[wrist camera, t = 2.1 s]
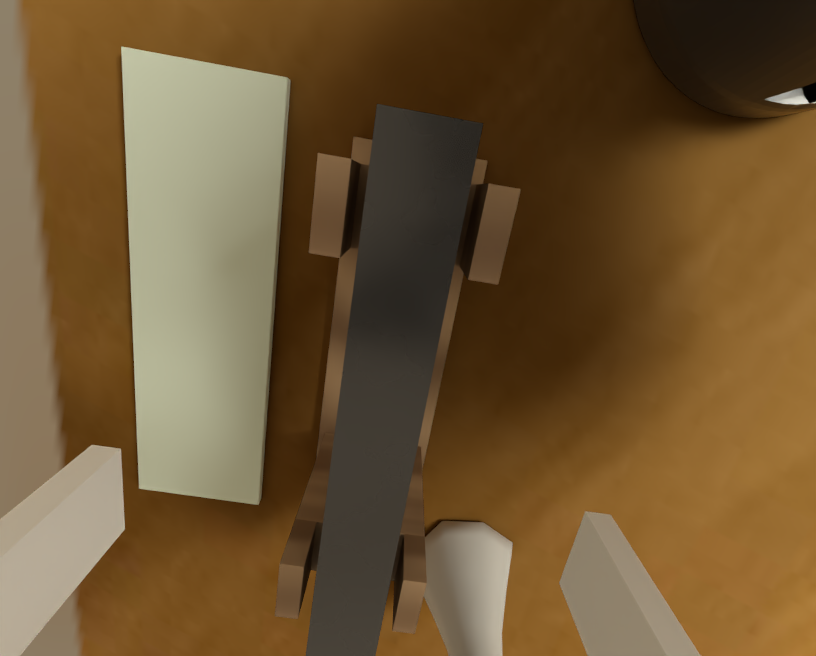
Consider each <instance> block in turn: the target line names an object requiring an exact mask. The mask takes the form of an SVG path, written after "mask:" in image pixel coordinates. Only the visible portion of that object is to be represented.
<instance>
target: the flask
mask: <svg viewBox="0 0 816 656" xmlns="http://www.w3.org/2000/svg"><path fill="white" fill-rule="evenodd" d="M512 544H513V543H512V542H511V541H509V540H508V539H506V538H505V537H504V536H502V535H501V534H499V533H498V532H496V531H495V530H493V529H492V528H491V527H489V526H488V525H486V524H485V523H483V522H461V521H442V522H441V523H439V524H438V525H437V526H436V527H435V528H434V529H433V530H432V531H431V532H430V533H429V534H428V535H427V536H426V537H425V552H426V575H427V585H426V589H425V593H424V598H425V600H426V602H427V604H428V606H429V608H430V611H431V613H432V615H433V617H434V620H435V622H436V624H437V627H438V629H439V632H440V634H441V636H442V639H443V641H444V643H445V646H446V648H447V651H448V655H449V656H502V626H503V617H504V608H505V598H506V589H507V582H508V575H509V568H510V561H511V554H512Z"/></svg>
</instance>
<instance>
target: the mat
mask: <svg viewBox="0 0 816 656" xmlns="http://www.w3.org/2000/svg"><path fill="white" fill-rule="evenodd" d="M121 52H122V77H123V102H124V127H125V152H126V177H127V201H128V226H129V251H130V276H131V301H132V326H133V351H134V376H135V401H136V425H137V450H138V475H139V489H146V490H153V491H161V492H168V493H175V494H182V495H189V496H197V497H204V498H211V499H218V500H226V501H233V502H240V503H247V504H255V505H259V503H260V500H261V496H262V482H263V467H264V453H265V439H266V425H267V411H268V396H269V382H270V368H271V354H272V340H273V325H274V311H275V297H276V283H277V269H278V254H279V240H280V226H281V212H282V198H283V183H284V169H285V155H286V141H287V127H288V113H289V98H290V84H291V80H290V79H289V78H288V77H282V76H277V75H272V74H266V73H261V72H256V71H250V70H245V69H240V68H234V67H229V66H223V65H218V64H213V63H207V62H202V61H197V60H191V59H186V58H181V57H175V56H170V55H165V54H159V53H154V52H148V51H143V50H138V49H132V48H127V47H122V46H121Z"/></svg>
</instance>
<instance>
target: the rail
mask: <svg viewBox="0 0 816 656" xmlns="http://www.w3.org/2000/svg"><path fill="white" fill-rule="evenodd" d="M482 127H483V123H478V122H472V121H467V120H462V119H456V118H451V117H445V116H440V115H435V114H429V113H424V112H418V111H413V110H408V109H402V108H397V107H391V106H386V105H381V104H377V109H376V116H375V124H374V132H373V139H372V147H371V155H370V163H369V170H368V178H367V186H366V194H365V201H364V209H363V217H362V225H361V232H360V240H359V248H358V255H357V263H356V271H355V279H354V286H353V294H352V302H351V310H350V317H349V325H348V333H347V341H346V348H345V356H344V364H343V372H342V379H341V387H340V395H339V402H338V410H337V418H336V426H335V433H334V441H333V449H332V457H331V464H330V472H329V480H328V488H327V495H326V503H325V511H324V519H323V526H322V534H321V542H320V549H319V557H318V565H317V573H316V580H315V588H314V596H313V604H312V611H311V619H310V627H309V635H308V642H307V650H306V656H375V654H376V649H377V645H378V640H379V635H380V630H381V625H382V620H383V615H384V610H385V605H386V600H387V595H388V590H389V585H390V580H391V576H392V571H393V566H394V561H395V556H396V551H397V546H398V541H399V536H400V531H401V526H402V521H403V516H404V511H405V507H406V502H407V497H408V492H409V487H410V482H411V477H412V472H413V467H414V462H415V457H416V452H417V447H418V442H419V437H420V433H421V428H422V423H423V418H424V413H425V408H426V403H427V398H428V393H429V388H430V383H431V378H432V373H433V368H434V364H435V359H436V354H437V349H438V344H439V339H440V334H441V329H442V324H443V319H444V314H445V309H446V304H447V299H448V295H449V290H450V285H451V280H452V275H453V270H454V265H455V260H456V255H457V250H458V245H459V240H460V235H461V230H462V225H463V221H464V216H465V211H466V206H467V201H468V196H469V191H470V186H471V181H472V176H473V171H474V166H475V161H476V156H477V152H478V147H479V142H480V137H481V132H482Z"/></svg>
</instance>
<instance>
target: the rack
mask: <svg viewBox="0 0 816 656" xmlns="http://www.w3.org/2000/svg"><path fill="white" fill-rule="evenodd" d="M371 147H372V140H371V139H365V138H360V137H354V136H353V145H352V154H351V159H349V158H344V157H338V156H333V155H327V154H321V153H318V157H317V168H316V178H315V189H314V200H313V211H312V222H311V232H310V243H309V253H312V254H317V255H323V256H329V257H335V258H339V266H338V274H337V283H336V292H335V300H334V309H333V317H332V326H331V335H330V343H329V352H328V361H327V369H326V378H325V386H324V395H323V404H322V412H321V421H320V430H319V438H318V447H317V455H316V461H315V464H314V467H313V470H312V473H311V476H310V478H309V481H308V484H307V487H306V490H305V493H304V496H303V499H302V501H301V504H300V507H299V510H298V513H297V516H296V519H295V522H294V524H293V527H292V530H291V533H290V536H289V539H288V542H287V544H286V547H285V550H284V553H283V556H282V559H281V562H280V567H279V577H278V588H277V599H276V610H275V616H278V617H286V618H294V619H298V616H299V612H300V609H301V605H302V601H303V597H304V593H305V589H306V586H307V582H308V578H309V574H310V570H315V571H317V565H318V557H319V549H320V542H321V534H322V526H323V519H324V511H325V503H326V495H327V488H328V480H329V472H330V464H331V457H332V449H333V441H334V433H335V426H336V418H337V410H338V402H339V395H340V387H341V379H342V372H343V364H344V356H345V348H346V341H347V333H348V325H349V317H350V310H351V302H352V294H353V286H354V279H355V271H356V263H357V255H358V248H359V240H360V232H361V225H362V217H363V209H364V201H365V194H366V186H367V178H368V170H369V163H370V155H371ZM487 162H488V161H487V160H481V159H476V161H475V166H474V171H473V176H472V181H471V186H470V191H469V196H468V201H467V206H466V211H465V216H464V221H463V225H462V230H461V235H460V240H459V245H458V250H457V255H456V260H455V265H454V270H453V275H452V280H451V285H450V290H449V295H448V299H447V304H446V309H445V314H444V319H443V324H442V329H441V334H440V339H439V344H438V349H437V354H436V359H435V364H434V368H433V373H432V378H431V383H430V388H429V393H428V398H427V403H426V408H425V413H424V418H423V423H422V428H421V433H420V437H419V442H418V447H417V452H416V457H415V462H414V467H413V472H412V477H411V482H410V487H409V492H408V497H407V502H406V507H405V511H404V516H403V521H402V526H401V531H400V536H399V541H398V546H397V551H396V556H395V561H394V566H393V571H392V576H391V581H394V605H393V630H392V631H397V632H405V633H413V634H415V631H416V626H417V622H418V618H419V614H420V610H421V605H422V601H423V597H424V593H425V589H426V585H427V575H426V552H425V528H424V505H423V481H422V470H423V465H424V460H425V455H426V451H427V446H428V441H429V436H430V432H431V427H432V422H433V417H434V413H435V408H436V403H437V399H438V394H439V389H440V384H441V380H442V375H443V370H444V365H445V361H446V356H447V351H448V346H449V342H450V337H451V332H452V328H453V323H454V318H455V313H456V309H457V304H458V299H459V294H460V290H461V285H462V280H463V275H464V274H465V276H466V277H467V279H468V280H473V281H479V282H485V283H491V284H497V285H498V283H499V279H500V275H501V271H502V267H503V263H504V258H505V254H506V250H507V246H508V242H509V237H510V233H511V229H512V225H513V221H514V217H515V212H516V208H517V204H518V200H519V196H520V191H521V189H517V188H512V187H506V186H501V185H495V184H489V183H488V184H483V181H484V176H485V171H486V167H487Z"/></svg>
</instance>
